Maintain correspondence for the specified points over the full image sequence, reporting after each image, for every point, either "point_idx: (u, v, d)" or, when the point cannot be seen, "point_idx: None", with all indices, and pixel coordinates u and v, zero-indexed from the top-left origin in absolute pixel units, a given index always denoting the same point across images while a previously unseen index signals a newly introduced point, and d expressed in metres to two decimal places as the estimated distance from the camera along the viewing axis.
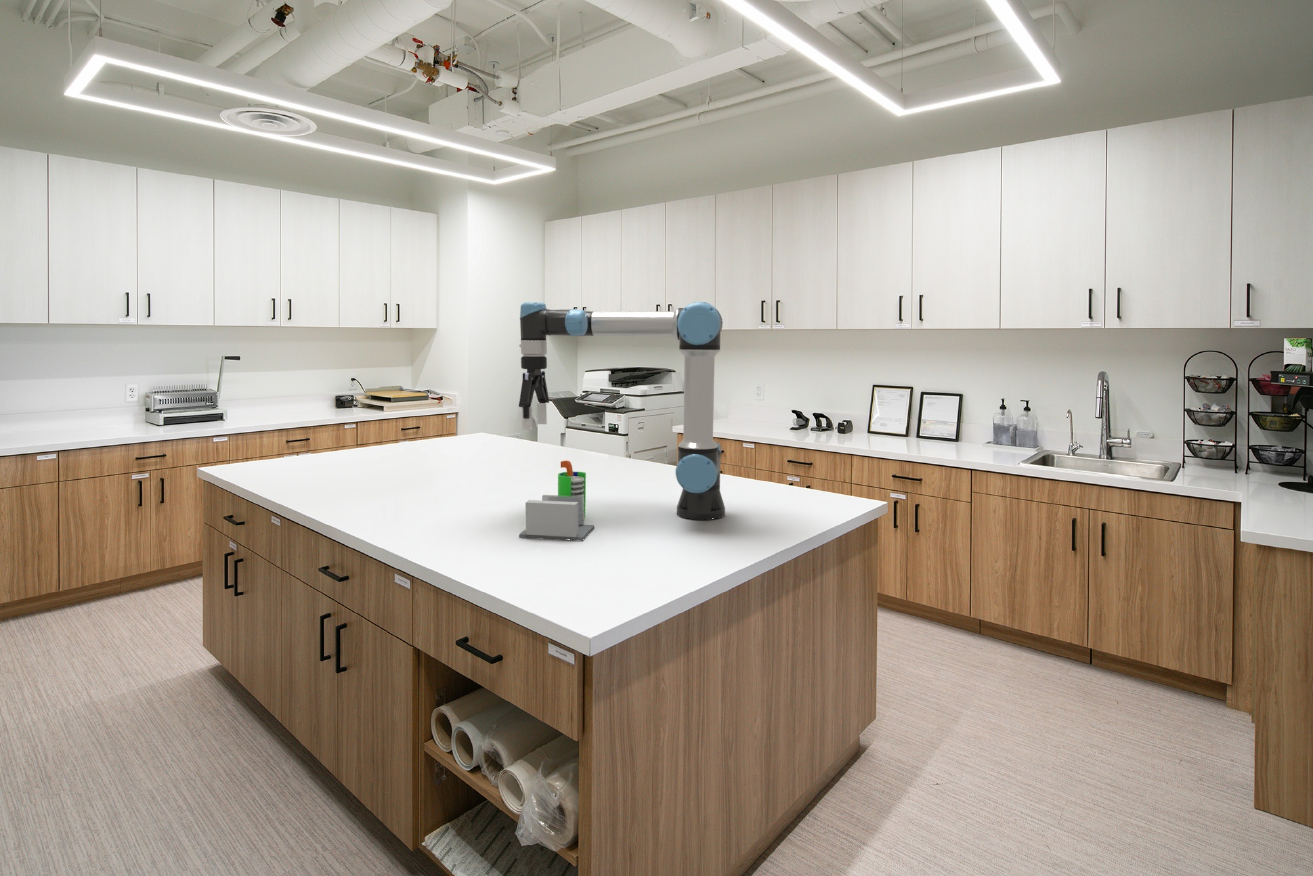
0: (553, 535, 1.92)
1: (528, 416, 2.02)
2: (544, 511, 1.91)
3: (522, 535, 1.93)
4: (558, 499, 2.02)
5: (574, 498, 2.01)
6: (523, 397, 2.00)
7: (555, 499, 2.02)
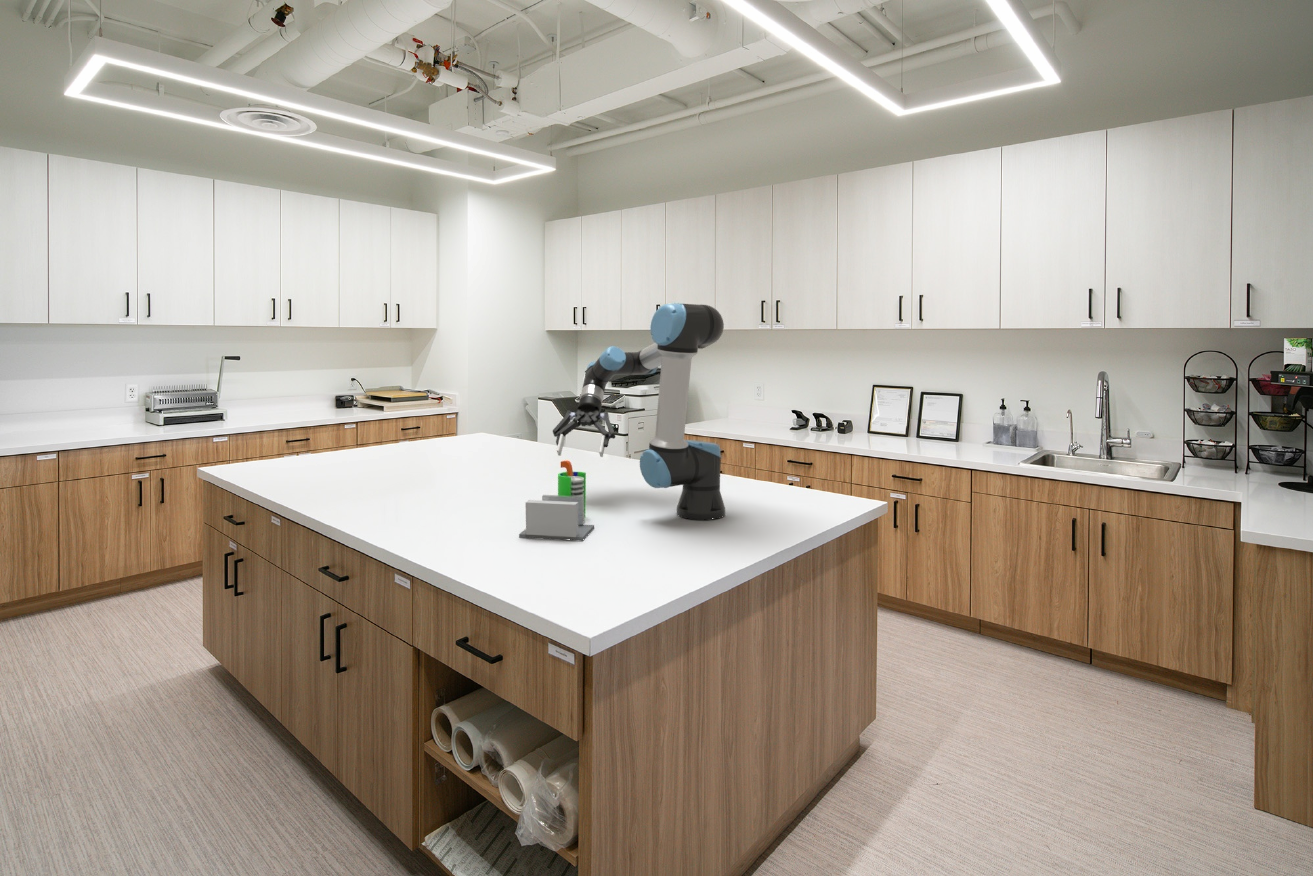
0: (553, 535, 1.92)
1: (557, 441, 2.23)
2: (544, 511, 1.91)
3: (522, 535, 1.93)
4: (558, 499, 2.02)
5: (574, 498, 2.01)
6: None
7: (555, 499, 2.02)
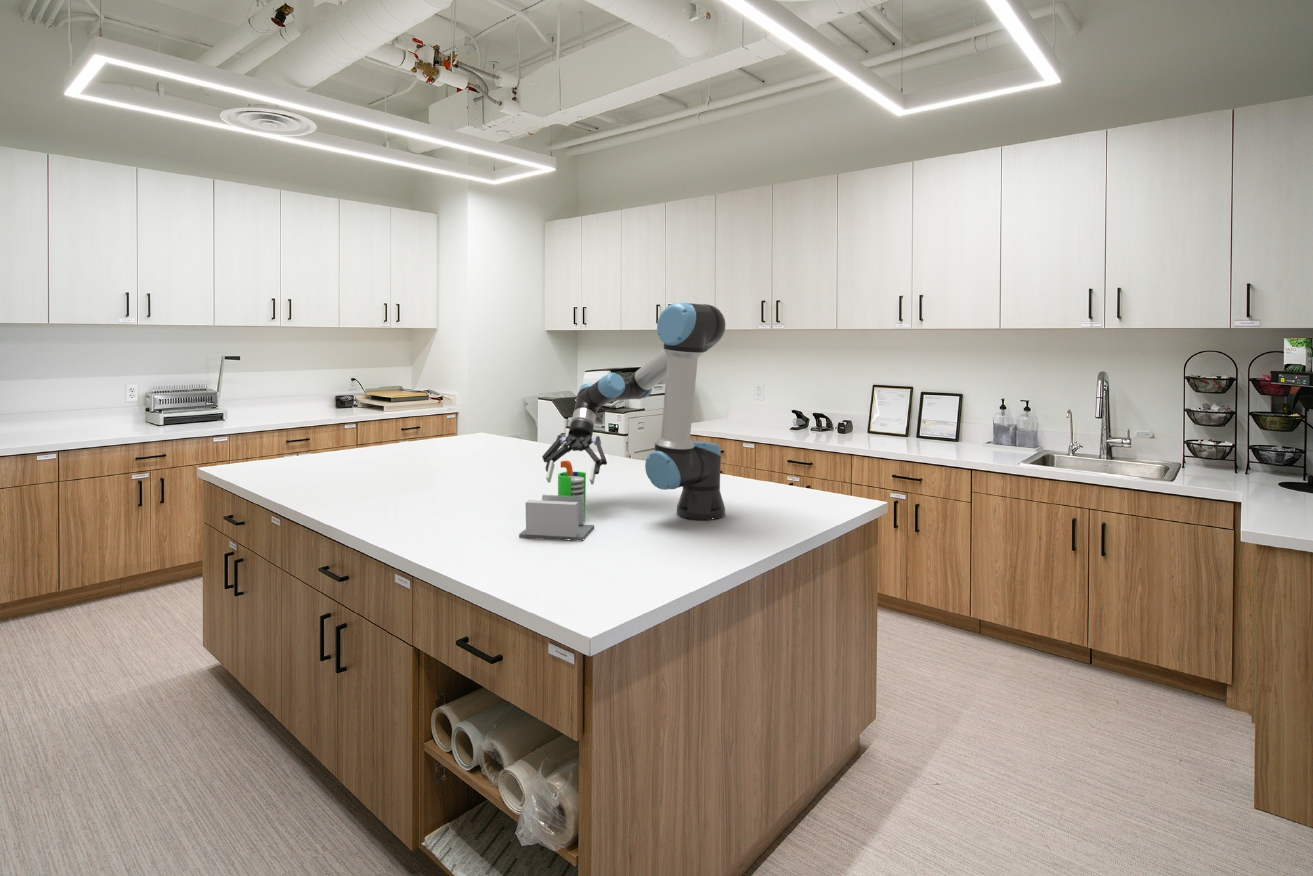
0: (553, 535, 1.92)
1: (547, 468, 2.16)
2: (544, 511, 1.91)
3: (522, 535, 1.93)
4: (558, 499, 2.02)
5: (574, 498, 2.01)
6: None
7: (555, 499, 2.02)
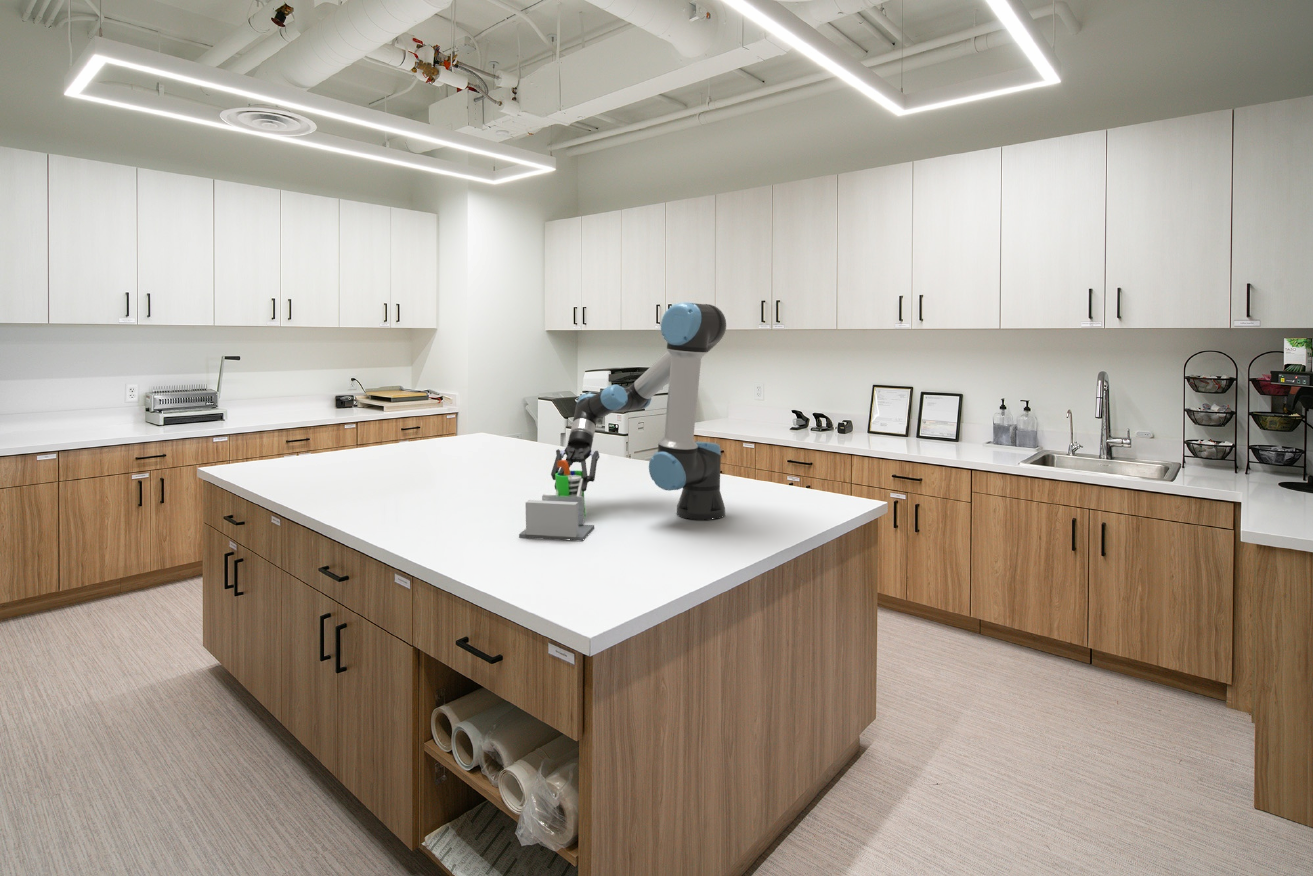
0: (553, 535, 1.92)
1: None
2: (544, 511, 1.91)
3: (522, 535, 1.93)
4: (558, 499, 2.02)
5: (574, 498, 2.01)
6: None
7: (555, 499, 2.02)
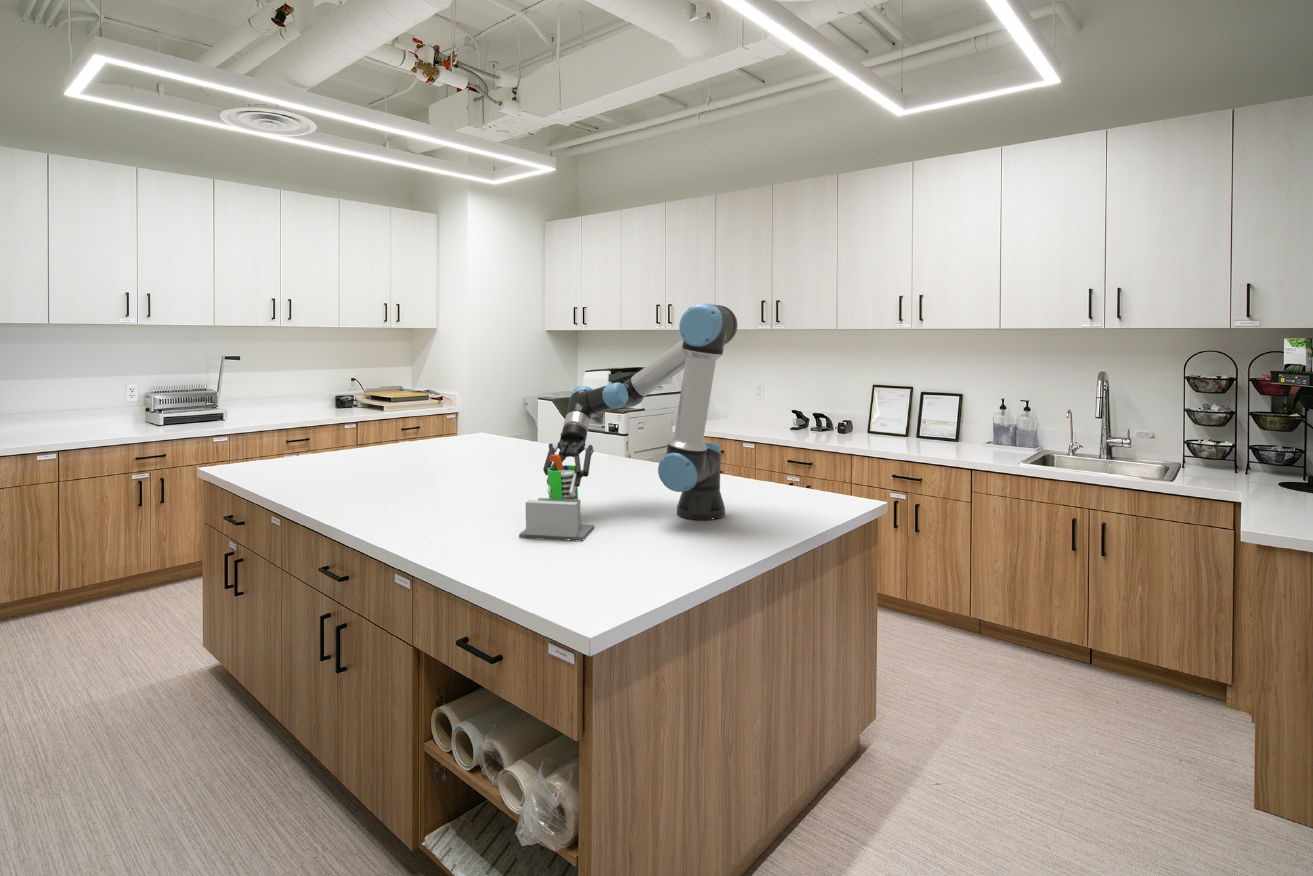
0: (553, 535, 1.92)
1: None
2: (544, 511, 1.91)
3: (522, 535, 1.93)
4: None
5: (570, 501, 1.97)
6: None
7: None
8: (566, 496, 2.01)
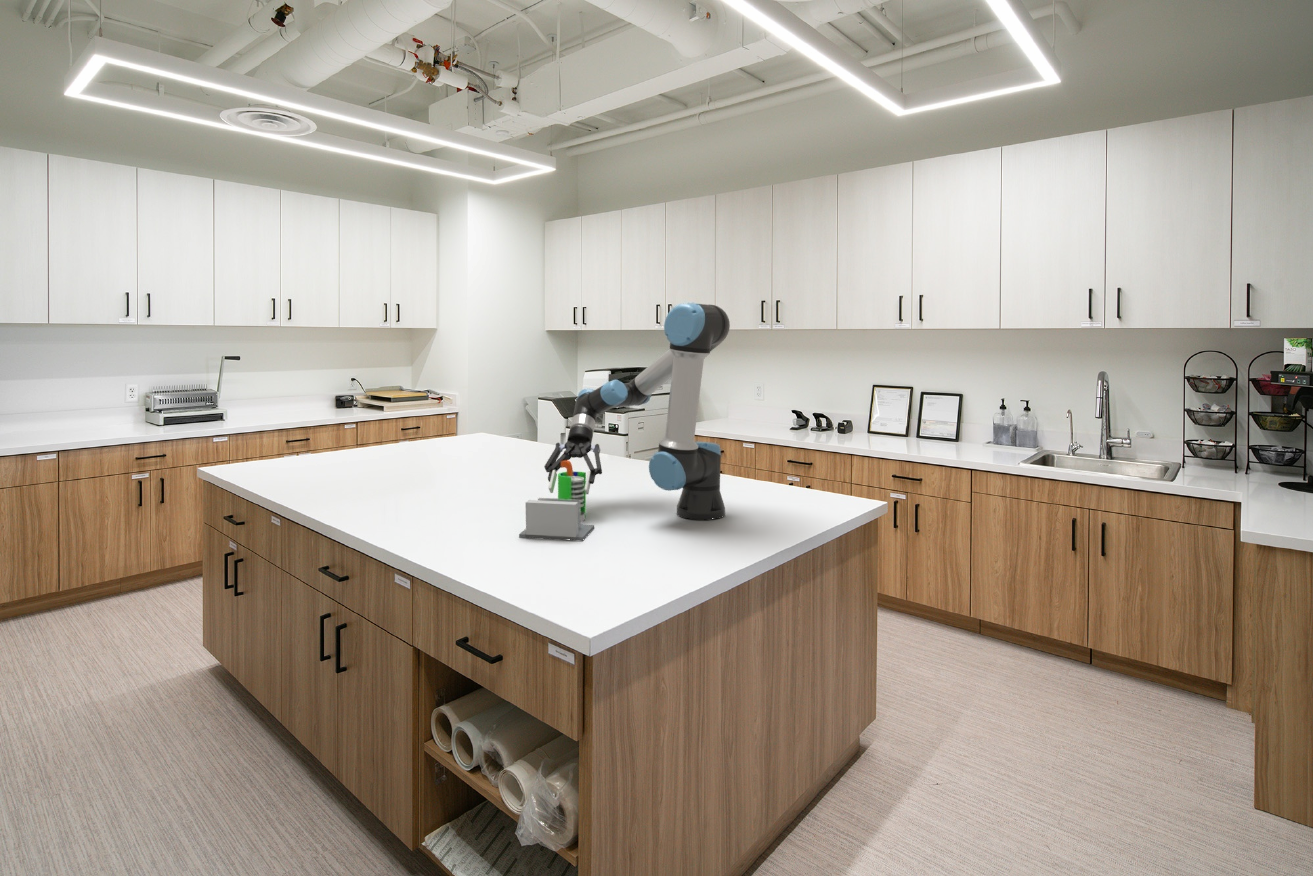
0: (553, 535, 1.92)
1: (549, 478, 2.11)
2: (544, 511, 1.91)
3: (522, 535, 1.93)
4: None
5: (570, 501, 1.97)
6: None
7: None
8: None
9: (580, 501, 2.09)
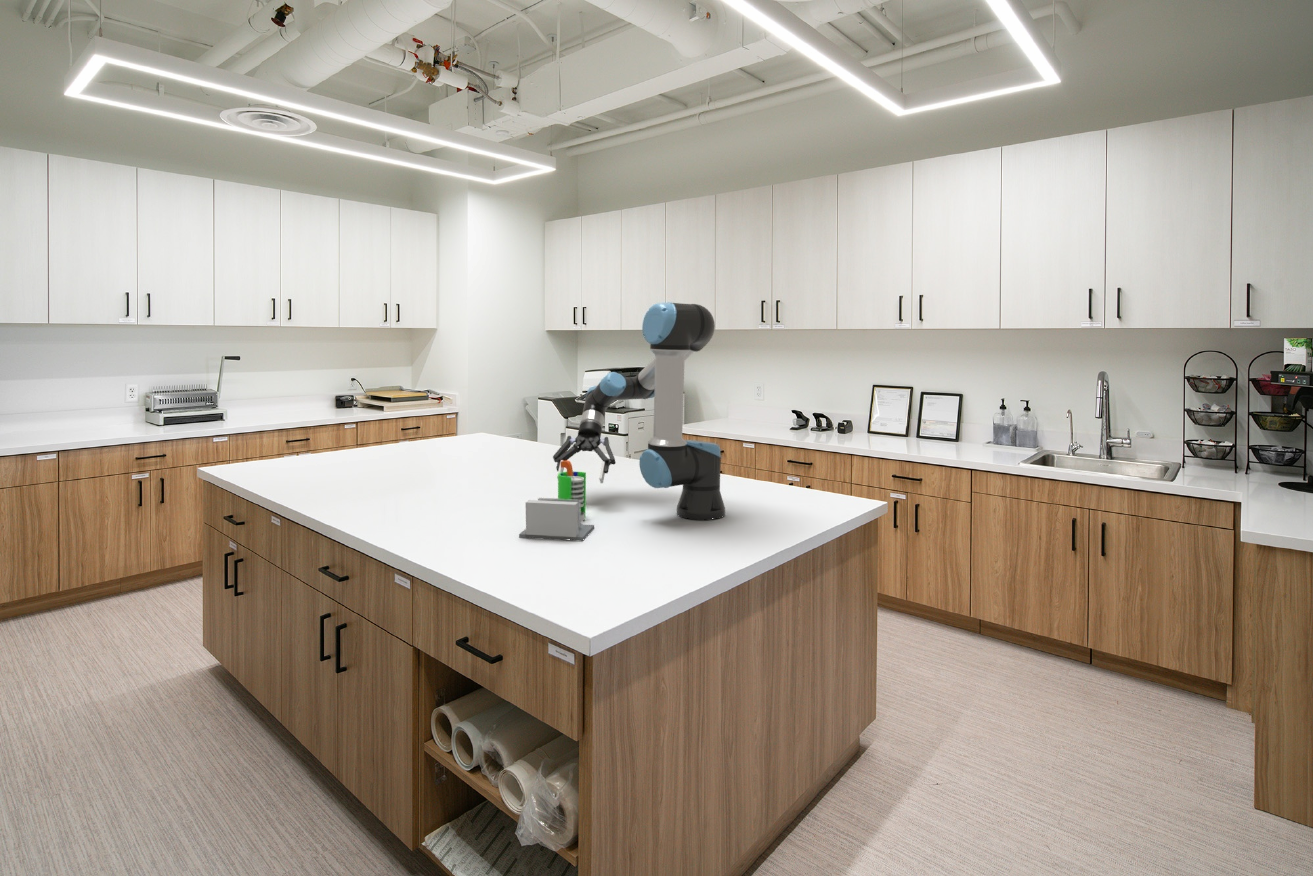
0: (553, 535, 1.92)
1: (557, 467, 2.24)
2: (544, 511, 1.91)
3: (522, 535, 1.93)
4: None
5: (570, 501, 1.97)
6: None
7: None
8: None
9: (580, 501, 2.09)
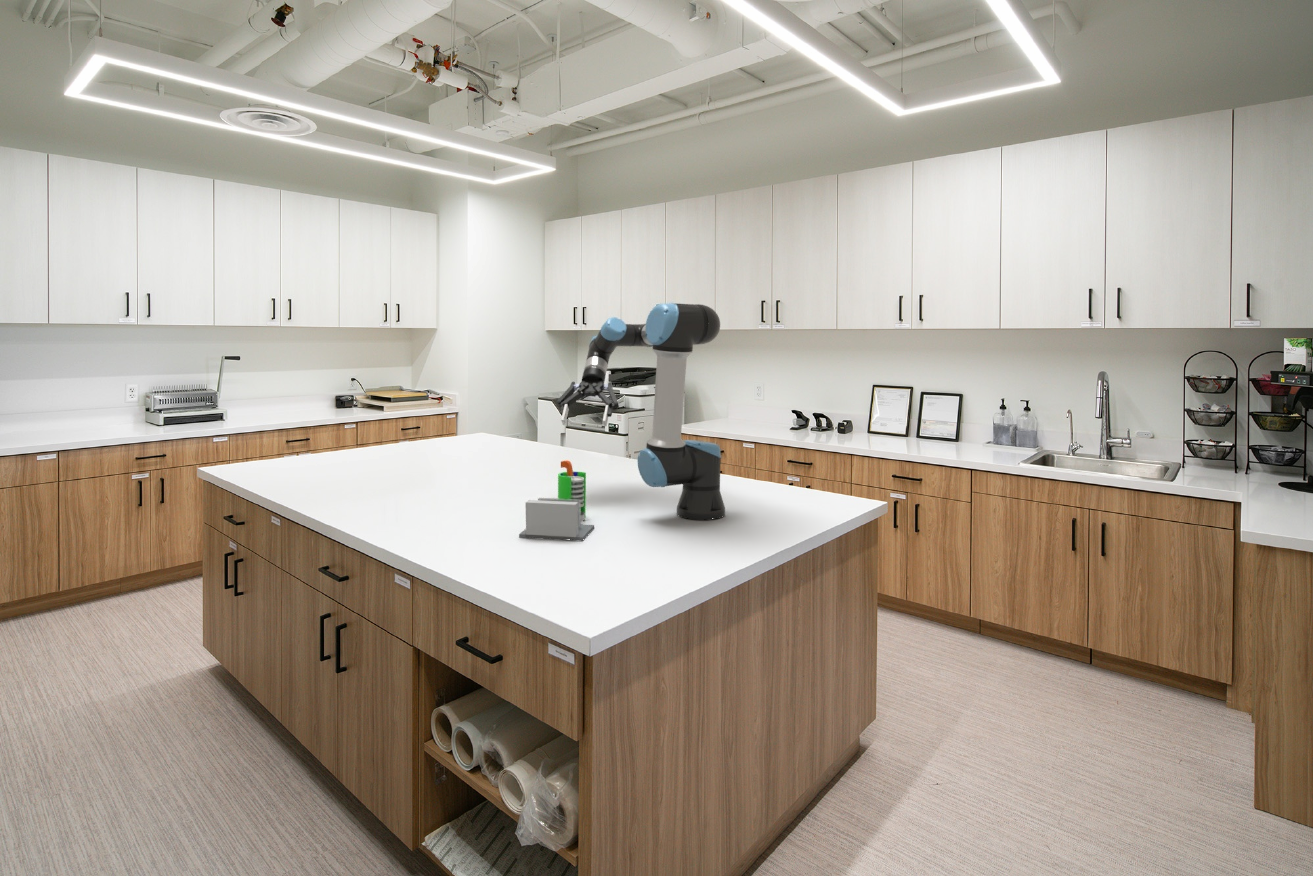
0: (553, 535, 1.92)
1: (562, 411, 2.27)
2: (544, 511, 1.91)
3: (522, 535, 1.93)
4: None
5: (570, 501, 1.97)
6: None
7: None
8: None
9: (580, 501, 2.09)
